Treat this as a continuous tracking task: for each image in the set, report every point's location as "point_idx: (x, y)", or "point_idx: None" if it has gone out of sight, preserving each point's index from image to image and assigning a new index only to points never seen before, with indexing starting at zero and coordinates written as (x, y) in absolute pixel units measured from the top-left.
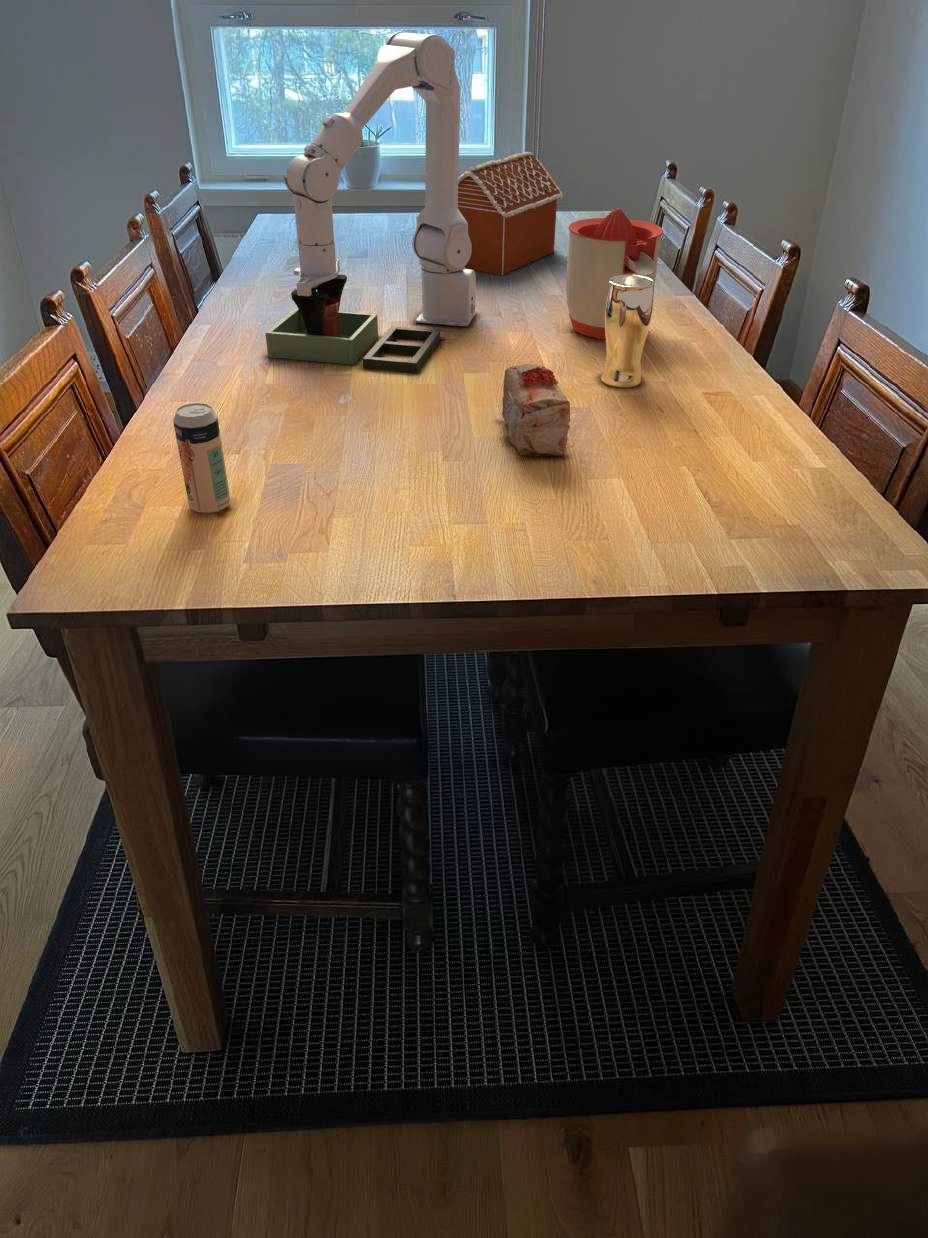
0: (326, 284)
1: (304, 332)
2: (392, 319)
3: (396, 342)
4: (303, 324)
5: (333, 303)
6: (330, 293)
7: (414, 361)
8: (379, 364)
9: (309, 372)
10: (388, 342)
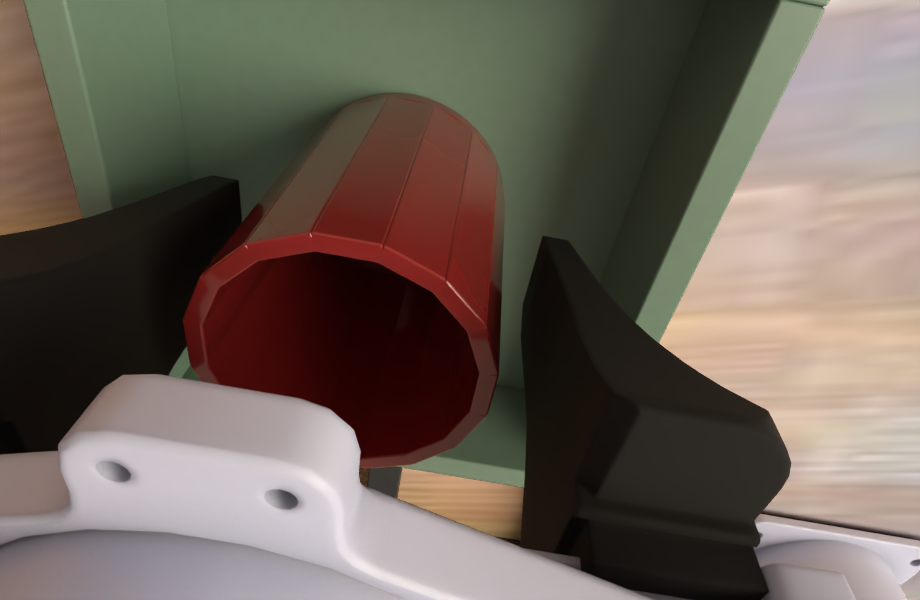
0: (557, 477)
1: (643, 18)
2: (844, 440)
3: (389, 490)
4: (719, 10)
5: (442, 409)
6: (543, 430)
7: None
8: None
9: (12, 163)
10: (384, 469)
